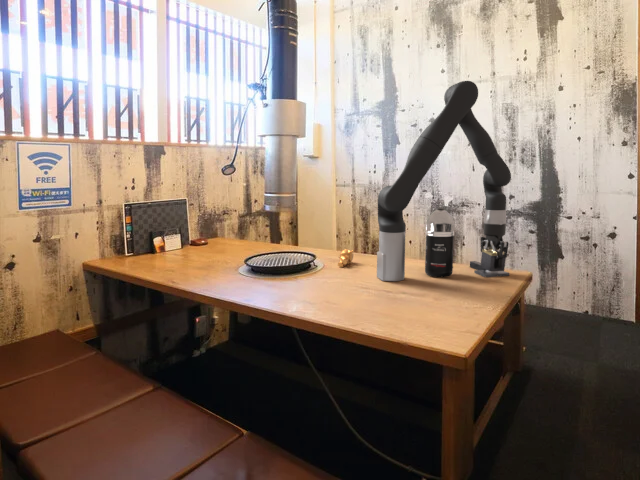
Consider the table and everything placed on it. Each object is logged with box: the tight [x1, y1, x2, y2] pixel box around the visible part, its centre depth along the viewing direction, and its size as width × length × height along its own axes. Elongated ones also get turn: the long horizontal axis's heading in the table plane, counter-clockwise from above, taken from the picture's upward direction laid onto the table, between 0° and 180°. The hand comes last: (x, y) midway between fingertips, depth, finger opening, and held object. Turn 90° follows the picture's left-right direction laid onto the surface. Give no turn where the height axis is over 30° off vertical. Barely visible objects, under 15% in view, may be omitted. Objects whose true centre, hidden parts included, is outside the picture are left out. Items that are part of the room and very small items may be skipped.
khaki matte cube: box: [480, 249, 507, 271], centre depth 165 cm, size 6×6×7 cm
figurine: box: [337, 248, 354, 269], centre depth 184 cm, size 8×6×12 cm
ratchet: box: [469, 260, 510, 278], centre depth 170 cm, size 10×16×6 cm, turn 12°
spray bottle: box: [424, 207, 456, 278], centre depth 164 cm, size 10×10×25 cm
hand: (492, 266), depth 165 cm, fingers closed on khaki matte cube, 6 cm apart
